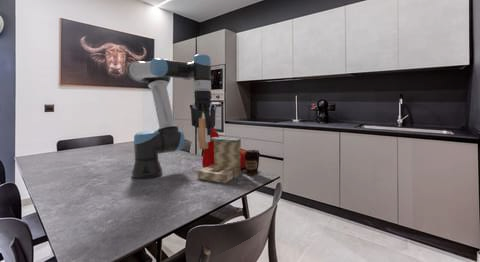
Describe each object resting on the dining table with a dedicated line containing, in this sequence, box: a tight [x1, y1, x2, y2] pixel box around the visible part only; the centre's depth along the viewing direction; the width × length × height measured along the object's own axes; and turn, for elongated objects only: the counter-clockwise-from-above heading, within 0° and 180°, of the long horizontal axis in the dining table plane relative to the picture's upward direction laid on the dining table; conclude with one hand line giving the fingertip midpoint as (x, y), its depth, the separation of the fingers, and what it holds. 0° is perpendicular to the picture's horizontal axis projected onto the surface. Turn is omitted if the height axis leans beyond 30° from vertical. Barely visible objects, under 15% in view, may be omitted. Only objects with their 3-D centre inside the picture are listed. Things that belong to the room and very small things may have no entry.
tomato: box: [241, 149, 247, 169], centre depth 140 cm, size 14×13×10 cm
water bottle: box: [201, 126, 220, 168], centre depth 142 cm, size 9×11×25 cm
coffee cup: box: [245, 149, 261, 176], centre depth 126 cm, size 9×8×13 cm
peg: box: [198, 117, 208, 150], centre depth 108 cm, size 4×4×14 cm
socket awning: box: [197, 136, 242, 184], centre depth 123 cm, size 16×17×19 cm
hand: (203, 141), depth 108 cm, fingers closed on peg, 4 cm apart
